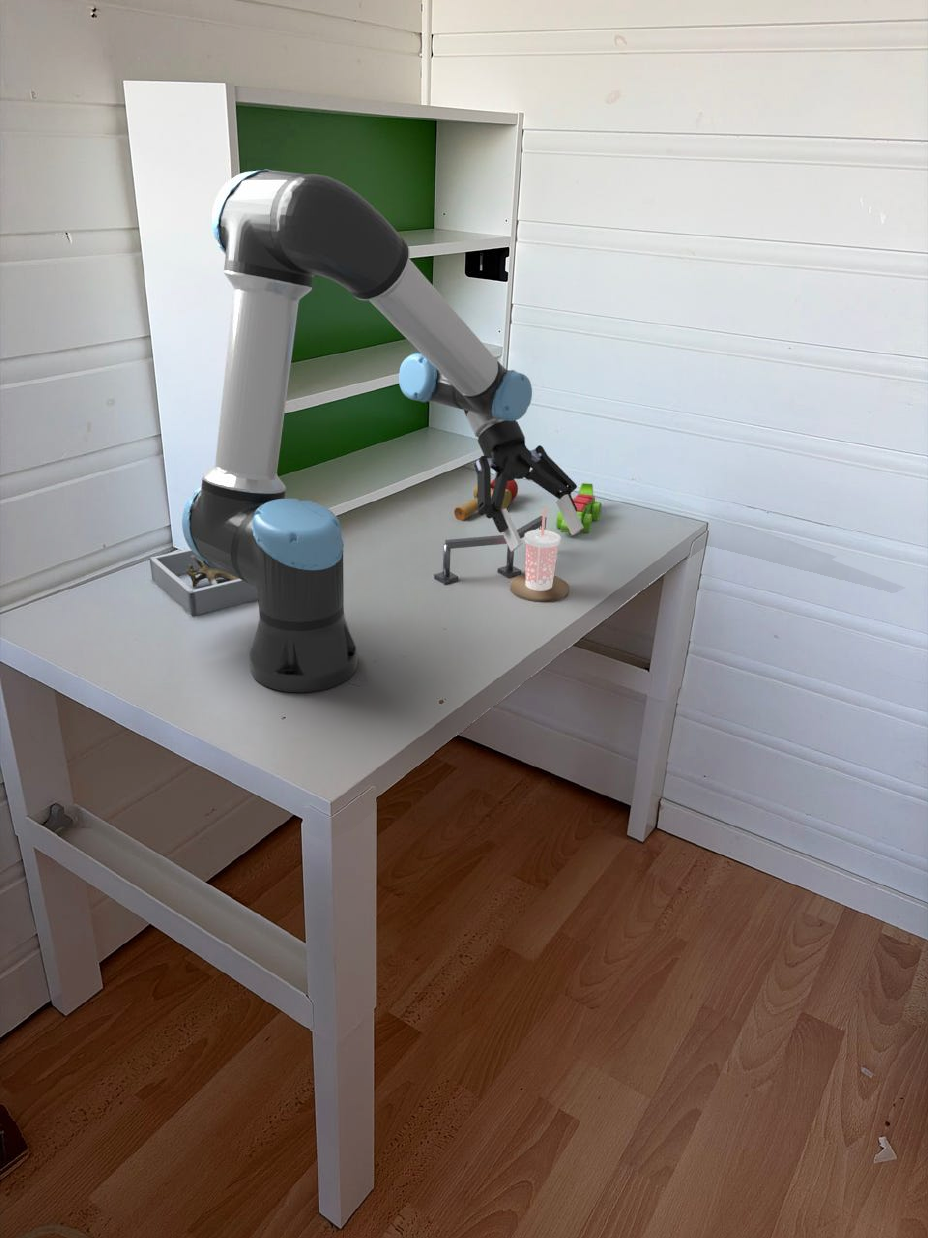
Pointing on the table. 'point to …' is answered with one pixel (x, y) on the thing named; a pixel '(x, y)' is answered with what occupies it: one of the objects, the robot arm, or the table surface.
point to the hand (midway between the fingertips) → (548, 539)
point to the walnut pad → (552, 594)
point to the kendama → (510, 494)
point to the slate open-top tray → (202, 598)
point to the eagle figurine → (207, 573)
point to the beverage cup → (541, 557)
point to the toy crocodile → (583, 509)
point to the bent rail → (507, 570)
